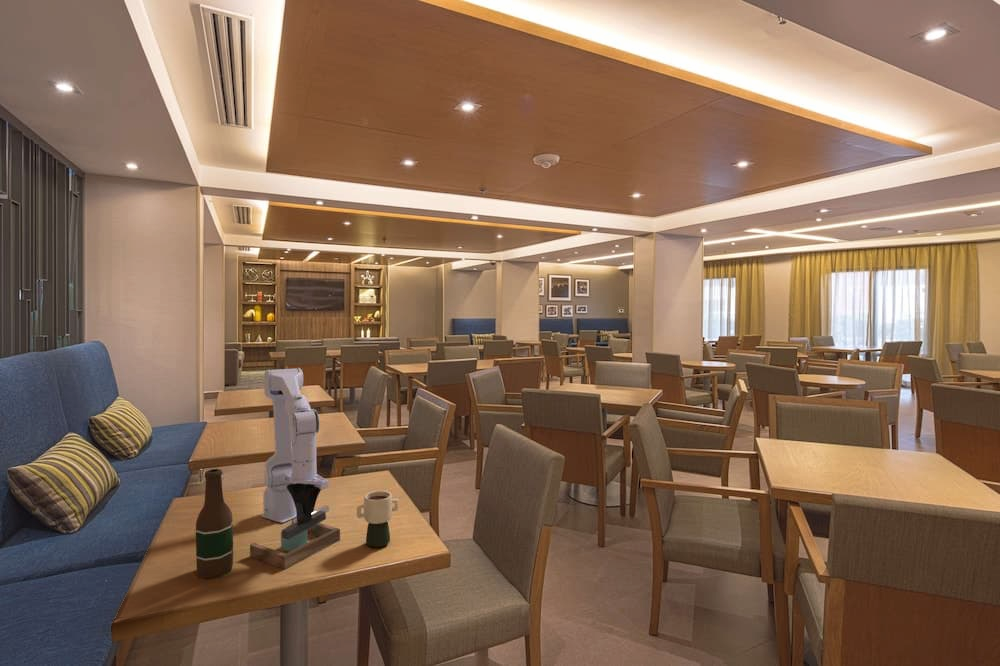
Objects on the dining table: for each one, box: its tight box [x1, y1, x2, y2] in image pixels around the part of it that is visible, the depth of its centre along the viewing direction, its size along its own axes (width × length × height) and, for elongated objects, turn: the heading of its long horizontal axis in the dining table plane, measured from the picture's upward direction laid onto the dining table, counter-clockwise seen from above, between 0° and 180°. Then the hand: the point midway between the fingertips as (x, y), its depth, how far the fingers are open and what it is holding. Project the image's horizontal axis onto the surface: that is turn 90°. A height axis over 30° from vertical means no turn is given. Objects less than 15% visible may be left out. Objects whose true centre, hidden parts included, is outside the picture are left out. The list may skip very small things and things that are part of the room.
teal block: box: [280, 530, 309, 552], centre depth 132 cm, size 4×4×4 cm
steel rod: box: [291, 504, 330, 525], centre depth 150 cm, size 12×2×2 cm, turn 152°
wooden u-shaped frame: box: [249, 522, 341, 570], centre depth 132 cm, size 13×17×3 cm
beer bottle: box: [195, 468, 234, 580], centre depth 119 cm, size 8×8×24 cm
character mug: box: [356, 490, 399, 548], centre depth 134 cm, size 11×7×13 cm, turn 119°
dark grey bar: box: [281, 499, 327, 540], centre depth 129 cm, size 2×12×7 cm, turn 152°
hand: (305, 511), depth 130 cm, fingers closed on dark grey bar, 2 cm apart
